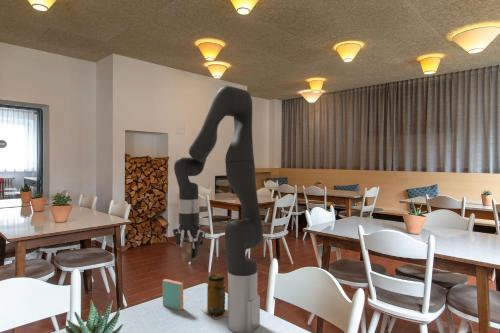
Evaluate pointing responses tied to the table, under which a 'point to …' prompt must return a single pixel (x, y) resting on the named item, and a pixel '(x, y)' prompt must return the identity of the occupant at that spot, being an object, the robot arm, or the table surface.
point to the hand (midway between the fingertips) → (189, 256)
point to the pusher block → (187, 251)
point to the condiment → (216, 297)
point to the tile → (173, 294)
